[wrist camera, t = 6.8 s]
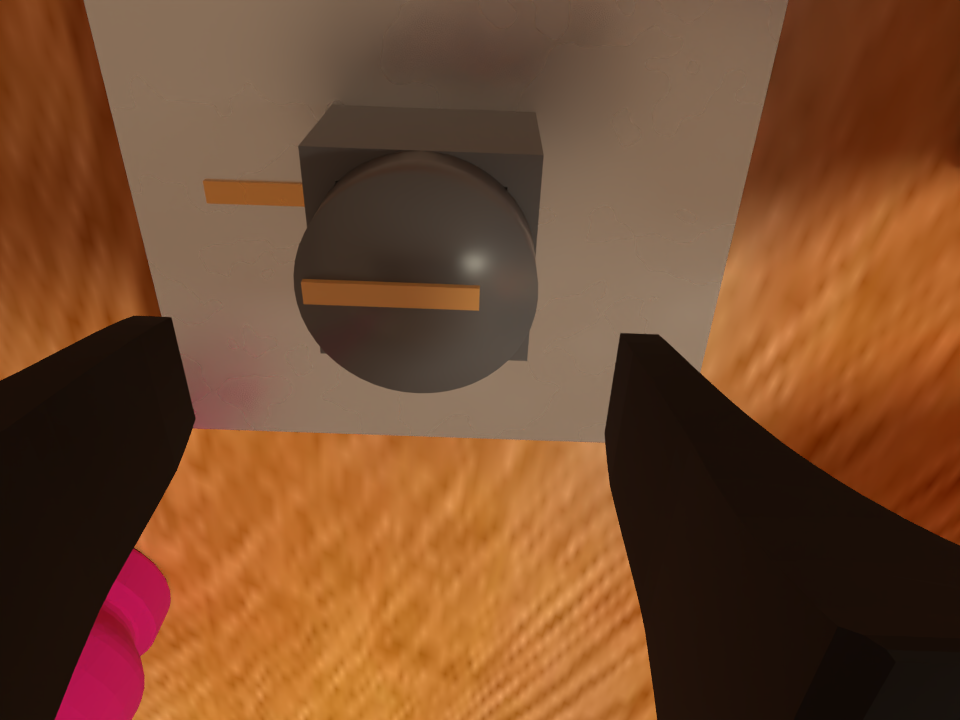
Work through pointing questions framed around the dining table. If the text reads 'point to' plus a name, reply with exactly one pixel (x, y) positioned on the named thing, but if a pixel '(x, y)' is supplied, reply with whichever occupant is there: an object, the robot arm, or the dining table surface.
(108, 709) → the pepper mill
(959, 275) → the dining table surface
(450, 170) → the knob
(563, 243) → the flat square panel
